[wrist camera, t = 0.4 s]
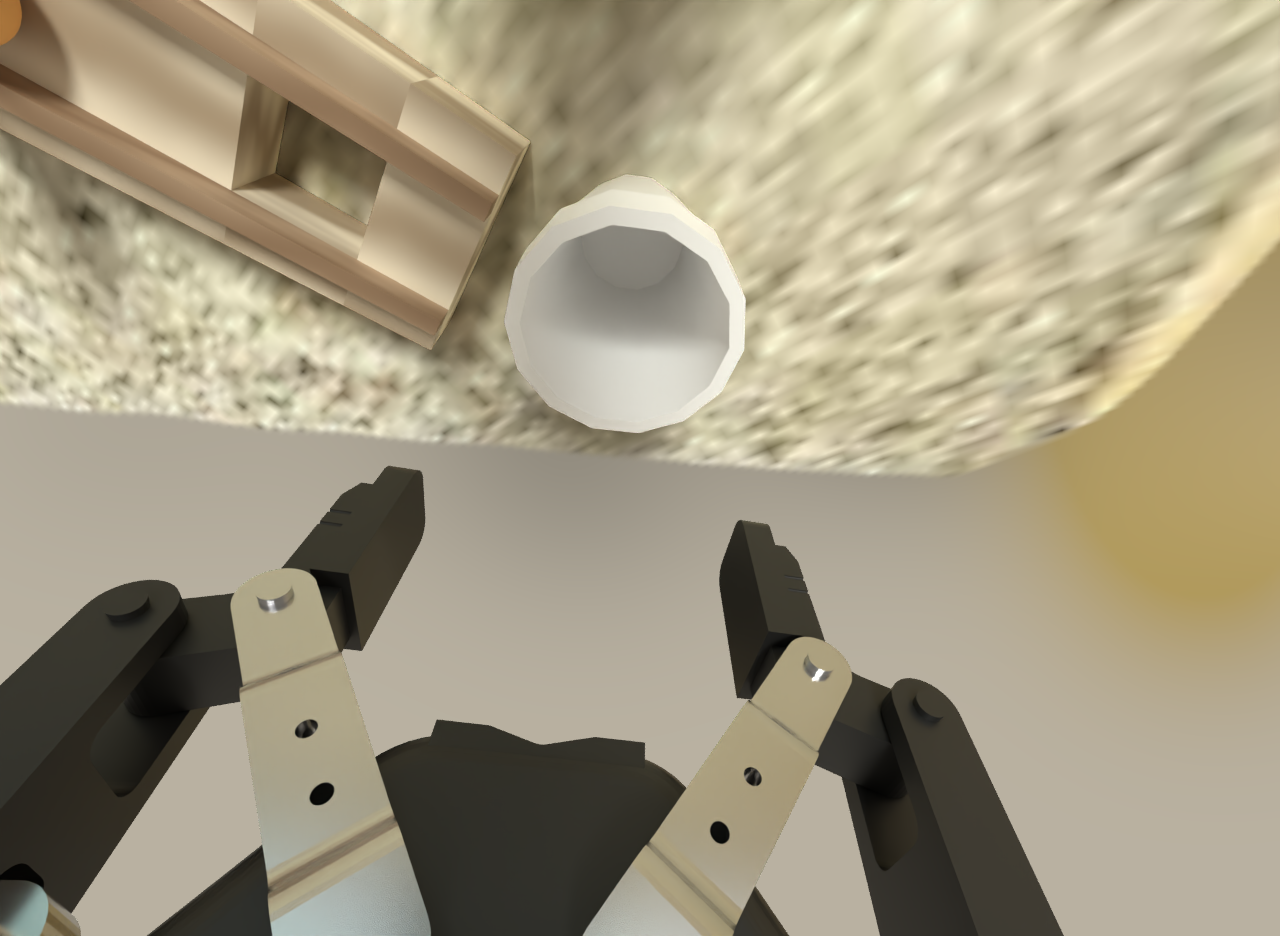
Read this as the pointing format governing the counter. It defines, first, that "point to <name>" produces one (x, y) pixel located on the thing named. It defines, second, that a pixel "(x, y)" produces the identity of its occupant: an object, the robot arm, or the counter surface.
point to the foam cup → (626, 309)
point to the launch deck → (269, 138)
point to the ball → (9, 19)
